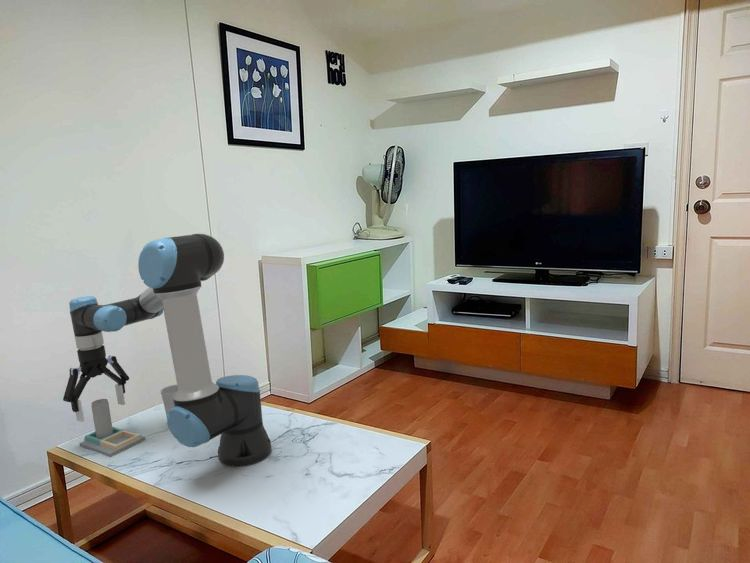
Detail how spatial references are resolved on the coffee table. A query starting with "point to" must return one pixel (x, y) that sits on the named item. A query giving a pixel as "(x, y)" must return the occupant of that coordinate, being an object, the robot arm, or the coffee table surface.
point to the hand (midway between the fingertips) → (101, 412)
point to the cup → (168, 397)
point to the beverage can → (102, 418)
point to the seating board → (112, 442)
